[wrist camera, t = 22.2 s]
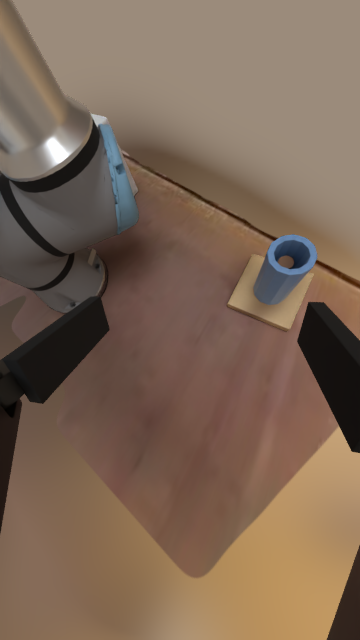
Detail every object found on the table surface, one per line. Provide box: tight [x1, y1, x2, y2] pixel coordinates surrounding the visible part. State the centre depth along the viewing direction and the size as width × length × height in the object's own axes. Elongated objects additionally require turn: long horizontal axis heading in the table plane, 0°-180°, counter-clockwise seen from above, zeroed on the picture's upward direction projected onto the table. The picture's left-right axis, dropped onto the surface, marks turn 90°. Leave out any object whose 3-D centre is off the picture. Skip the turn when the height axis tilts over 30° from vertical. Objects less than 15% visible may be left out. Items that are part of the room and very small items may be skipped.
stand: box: [227, 254, 314, 332], centre depth 32 cm, size 11×11×11 cm
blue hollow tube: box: [253, 235, 317, 305], centre depth 30 cm, size 6×6×11 cm
